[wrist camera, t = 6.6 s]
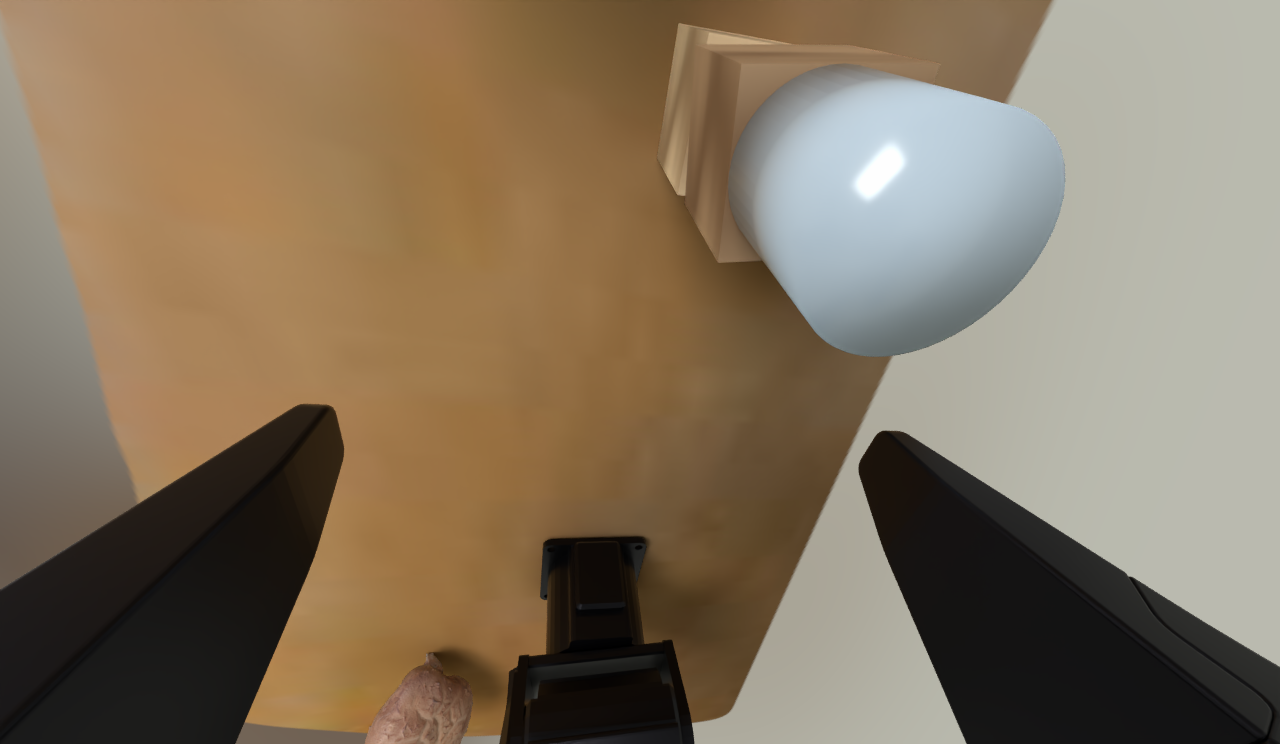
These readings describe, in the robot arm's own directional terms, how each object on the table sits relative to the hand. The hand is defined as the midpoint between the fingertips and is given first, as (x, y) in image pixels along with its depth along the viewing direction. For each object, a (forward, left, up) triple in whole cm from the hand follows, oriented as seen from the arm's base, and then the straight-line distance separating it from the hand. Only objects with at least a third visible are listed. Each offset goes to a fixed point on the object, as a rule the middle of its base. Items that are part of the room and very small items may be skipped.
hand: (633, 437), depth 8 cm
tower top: (+3, -4, -9) cm, 10 cm away
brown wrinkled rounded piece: (-37, +9, -13) cm, 40 cm away
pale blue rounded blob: (+3, -4, -5) cm, 7 cm away
